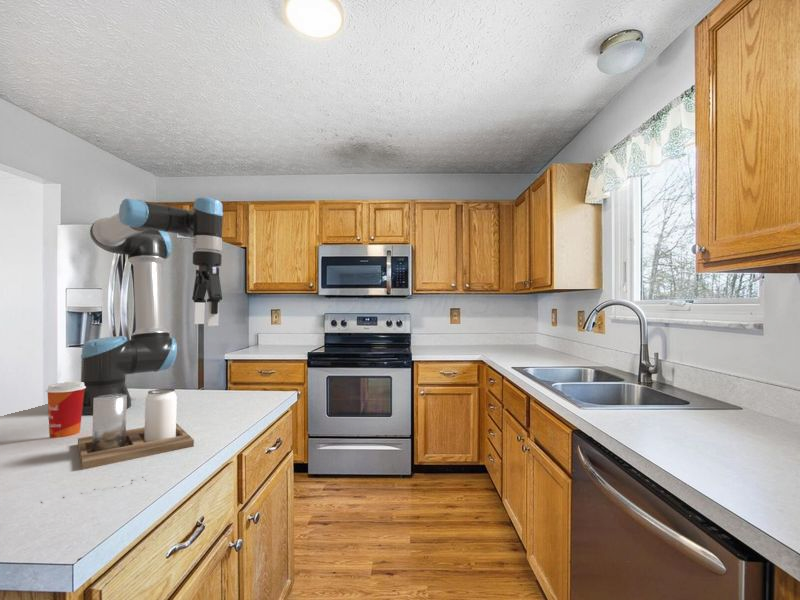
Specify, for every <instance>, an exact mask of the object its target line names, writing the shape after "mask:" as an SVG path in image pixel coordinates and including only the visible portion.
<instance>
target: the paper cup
mask: <svg viewBox="0 0 800 600" xmlns="http://www.w3.org/2000/svg"><path fill="white" fill-rule="evenodd" d="M85 388H86V386H85V385H84V382H81V381H71V382H70V381H65V382H56V383H52V384H49V385H48V387H47V389H46V391H45V392H46V393H47V409H48V411H47V413H48V415H47V416H48V432H49V433H48V435H49V438H53V439H56V438H57V439H58V438H59V439H60V438H67V437H72V436H75V435H77V434H80V433H81V424H82V417H83V415H82V408H83V398H84V389H85Z"/></svg>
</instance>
